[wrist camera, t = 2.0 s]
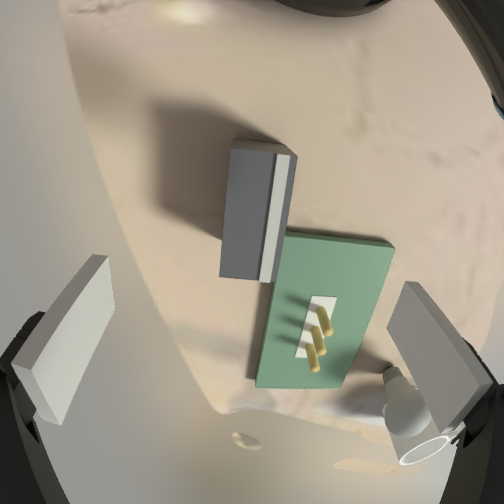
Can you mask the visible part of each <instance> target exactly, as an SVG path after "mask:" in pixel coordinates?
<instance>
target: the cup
mask: <svg viewBox="0 0 504 504" xmlns="http://www.w3.org/2000/svg"><path fill="white" fill-rule="evenodd" d="M414 388H415V389H417V390H419V389H418V387H414ZM386 405H387V403H386V404H385V405H384V407H383V409H382V414H383V417H384V419H385V409H386ZM460 427H461V430H462V429H463V428H464V427H465V424H464V422H463V421H462V422H461V423H460ZM461 430H459V431H455V432H451V433H443V434H440V433H439V431H438V428H437V426H436V424H435V422H434V420H433V418H432V417H431V420H430V422H429V424H428V426H427V427H426V428H425V429H424V430H423V431H422V432H421V433H419V434H418V435H415V436H413V437H407V438H404V437H398V436H396V435H394V434H392V433H391V432H390V431H389V430H388V431H389V434H390V436H391V439H392V442H393V445H394V448H395V451H396V454H397V457H398V460H399V463H400V464H401V465H408V464H413V463H416V462H419V461H421V460H424V459H426V458H428V457H430V456H431V455H433V454H435V453H436V452H438V451H439V450H440V449H442V448H443V447H444V446H445V445H446V444H447V442H448V441H449V440H450V439H452V438H454V437H456V436H457V435H458V434H459V432H460V431H461Z"/></svg>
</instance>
